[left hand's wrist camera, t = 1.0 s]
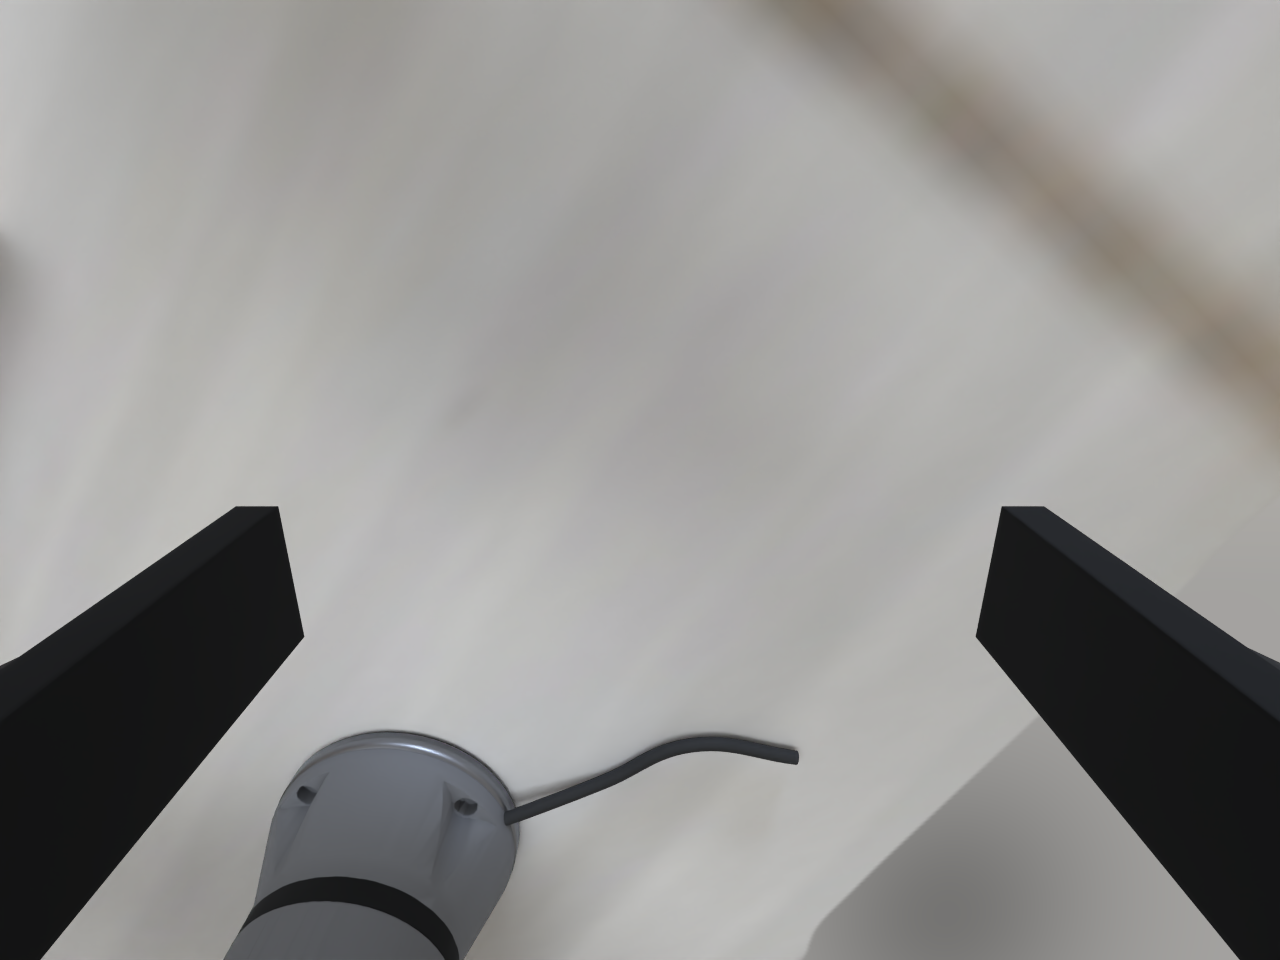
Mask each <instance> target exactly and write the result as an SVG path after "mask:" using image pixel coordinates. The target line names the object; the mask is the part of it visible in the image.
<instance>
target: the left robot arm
mask: <svg viewBox="0 0 1280 960" xmlns="http://www.w3.org/2000/svg"><path fill="white" fill-rule="evenodd" d="M303 638H304V633H303V628H302V623H301V618H300V613H299V608H298V603H297V598H296V593H295V588H294V583H293V578H292V573H291V568H290V563H289V558H288V553H287V548H286V543H285V538H284V533H283V528H282V523H281V518H280V513H279V508H278V506H236V507H234V508H233V509H232V510H230V511H229V512H227V513H226V514H224V515H223V516H221V517H220V518H219V519H217V520H216V521H214V522H213V523H211V524H210V525H209V526H207V527H206V528H204V529H203V530H201V531H200V532H198V533H197V534H196V535H194V536H193V537H191V538H190V539H188V540H187V541H185V542H184V543H183V544H181V545H180V546H178V547H177V548H175V549H174V550H173V551H171V552H170V553H168V554H167V555H165V556H164V557H162V558H161V559H160V560H158V561H157V562H155V563H154V564H152V565H151V566H149V567H148V568H147V569H145V570H144V571H142V572H141V573H139V574H138V575H137V576H135V577H134V578H132V579H131V580H129V581H128V582H126V583H125V584H124V585H122V586H121V587H119V588H118V589H116V590H115V591H113V592H112V593H111V594H109V595H108V596H106V597H105V598H103V599H102V600H101V601H99V602H98V603H96V604H95V605H93V606H92V607H90V608H89V609H88V610H86V611H85V612H83V613H82V614H80V615H79V616H77V617H76V618H75V619H73V620H72V621H70V622H69V623H67V624H66V625H65V626H63V627H62V628H60V629H59V630H57V631H56V632H54V633H53V634H52V635H50V636H49V637H47V638H46V639H44V640H43V641H41V642H40V643H39V644H37V645H36V646H34V647H33V648H31V649H30V650H29V651H27V652H26V653H24V654H23V655H21V656H20V657H18V658H16V659H14V660H12V661H10V662H7V663H5V664H3V665H1V666H0V960H41V958H42V957H43V956H44V955H45V953H46V952H47V951H48V950H49V948H50V947H51V946H52V945H53V944H54V942H55V941H56V940H57V939H58V937H59V936H60V935H61V934H62V933H63V931H64V930H65V929H66V928H67V926H68V925H69V924H70V923H71V922H72V920H73V919H74V918H75V917H76V915H77V914H78V913H79V912H80V911H81V909H82V908H83V907H84V906H85V904H86V903H87V902H88V901H89V900H90V898H91V897H92V896H93V895H94V893H95V892H96V891H97V890H98V889H99V887H100V886H101V885H102V884H103V882H104V881H105V880H106V879H107V878H108V876H109V875H110V874H111V873H112V871H113V870H114V869H115V868H116V867H117V865H118V864H119V863H120V862H121V860H122V859H123V858H124V857H125V855H126V854H127V853H128V852H129V851H130V849H131V848H132V847H133V846H134V844H135V843H136V842H137V841H138V840H139V838H140V837H141V836H142V835H143V833H144V832H145V831H146V830H147V829H148V827H149V826H150V825H151V824H152V822H153V821H154V820H155V819H156V818H157V816H158V815H159V814H160V813H161V811H162V810H163V809H164V808H165V807H166V805H167V804H168V803H169V802H170V800H171V799H172V798H173V797H174V796H175V794H176V793H177V792H178V791H179V789H180V788H181V787H182V786H183V785H184V783H185V782H186V781H187V780H188V778H189V777H190V776H191V775H192V774H193V772H194V771H195V770H196V769H197V767H198V766H199V765H200V764H201V762H202V761H203V760H204V759H205V758H206V756H207V755H208V754H209V753H210V751H211V750H212V749H213V748H214V747H215V745H216V744H217V743H218V742H219V740H220V739H221V738H222V737H223V736H224V734H225V733H226V732H227V731H228V729H229V728H230V727H231V726H232V725H233V723H234V722H235V721H236V720H237V718H238V717H239V716H240V715H241V714H242V712H243V711H244V710H245V709H246V707H247V706H248V705H249V704H250V703H251V701H252V700H253V699H254V698H255V696H256V695H257V694H258V693H259V692H260V690H261V689H262V688H263V687H264V685H265V684H266V683H267V682H268V681H269V679H270V678H271V677H272V676H273V674H274V673H275V672H276V671H277V669H278V668H279V667H280V666H281V665H282V663H283V662H284V661H285V660H286V658H287V657H288V656H289V655H290V654H291V652H292V651H293V650H294V649H295V647H296V646H297V645H298V644H299V643H300V641H301V640H302V639H303ZM976 638H977V639H978V640H979V641H980V643H981V644H982V645H983V646H984V647H985V649H986V650H987V651H988V652H989V654H990V655H991V656H992V657H993V658H994V660H995V661H996V662H997V663H998V665H999V666H1000V667H1001V668H1002V669H1003V671H1004V672H1005V673H1006V674H1007V676H1008V677H1009V678H1010V679H1011V681H1012V682H1013V683H1014V684H1015V685H1016V687H1017V688H1018V689H1019V690H1020V692H1021V693H1022V694H1023V695H1024V696H1025V698H1026V699H1027V700H1028V701H1029V703H1030V704H1031V705H1032V706H1033V707H1034V709H1035V710H1036V711H1037V712H1038V714H1039V715H1040V716H1041V717H1042V718H1043V720H1044V721H1045V722H1046V723H1047V725H1048V726H1049V727H1050V728H1051V729H1052V731H1053V732H1054V733H1055V734H1056V736H1057V737H1058V738H1059V739H1060V740H1061V742H1062V743H1063V744H1064V745H1065V747H1066V748H1067V749H1068V750H1069V751H1070V753H1071V754H1072V755H1073V756H1074V758H1075V759H1076V760H1077V761H1078V762H1079V764H1080V765H1081V766H1082V767H1083V769H1084V770H1085V771H1086V772H1087V774H1088V775H1089V776H1090V777H1091V778H1092V780H1093V781H1094V782H1095V783H1096V785H1097V786H1098V787H1099V788H1100V789H1101V791H1102V792H1103V793H1104V794H1105V796H1106V797H1107V798H1108V799H1109V800H1110V802H1111V803H1112V804H1113V805H1114V807H1115V808H1116V809H1117V810H1118V811H1119V813H1120V814H1121V815H1122V816H1123V818H1124V819H1125V820H1126V821H1127V822H1128V824H1129V825H1130V826H1131V827H1132V829H1133V830H1134V831H1135V832H1136V833H1137V835H1138V836H1139V837H1140V838H1141V840H1142V841H1143V842H1144V843H1145V844H1146V846H1147V847H1148V848H1149V849H1150V851H1151V852H1152V853H1153V854H1154V855H1155V857H1156V858H1157V859H1158V860H1159V862H1160V863H1161V864H1162V865H1163V866H1164V868H1165V869H1166V870H1167V871H1168V873H1169V874H1170V875H1171V876H1172V878H1173V879H1174V880H1175V881H1176V882H1177V884H1178V885H1179V886H1180V887H1181V889H1182V890H1183V891H1184V892H1185V893H1186V895H1187V896H1188V897H1189V898H1190V900H1191V901H1192V902H1193V903H1194V904H1195V906H1196V907H1197V908H1198V909H1199V911H1200V912H1201V913H1202V914H1203V915H1204V917H1205V918H1206V919H1207V920H1208V922H1209V923H1210V924H1211V925H1212V926H1213V928H1214V929H1215V930H1216V931H1217V933H1218V934H1219V935H1220V936H1221V937H1222V939H1223V940H1224V941H1225V942H1226V943H1227V945H1228V946H1229V947H1230V948H1231V950H1232V951H1233V952H1234V953H1235V955H1236V956H1237V957H1238V958H1239V959H1240V960H1280V663H1279V662H1277V661H1275V660H1273V659H1270V658H1268V657H1266V656H1264V655H1262V654H1260V653H1258V652H1256V651H1253V650H1251V649H1249V648H1247V647H1246V646H1244V645H1243V644H1241V643H1240V642H1238V641H1237V640H1236V639H1234V638H1233V637H1231V636H1230V635H1228V634H1227V633H1226V632H1224V631H1223V630H1221V629H1220V628H1218V627H1217V626H1215V625H1214V624H1213V623H1211V622H1210V621H1208V620H1207V619H1205V618H1204V617H1202V616H1201V615H1200V614H1198V613H1197V612H1195V611H1194V610H1192V609H1191V608H1190V607H1188V606H1187V605H1185V604H1184V603H1182V602H1181V601H1179V600H1178V599H1177V598H1175V597H1174V596H1172V595H1171V594H1169V593H1168V592H1167V591H1165V590H1164V589H1162V588H1161V587H1159V586H1158V585H1156V584H1155V583H1154V582H1152V581H1151V580H1149V579H1148V578H1146V577H1145V576H1143V575H1142V574H1141V573H1139V572H1138V571H1136V570H1135V569H1133V568H1132V567H1131V566H1129V565H1128V564H1126V563H1125V562H1123V561H1122V560H1120V559H1119V558H1118V557H1116V556H1115V555H1113V554H1112V553H1110V552H1109V551H1107V550H1106V549H1105V548H1103V547H1102V546H1100V545H1099V544H1097V543H1096V542H1095V541H1093V540H1092V539H1090V538H1089V537H1087V536H1086V535H1084V534H1083V533H1082V532H1080V531H1079V530H1077V529H1076V528H1074V527H1073V526H1071V525H1070V524H1069V523H1067V522H1066V521H1064V520H1063V519H1061V518H1060V517H1058V516H1057V515H1056V514H1054V513H1053V512H1051V511H1050V510H1048V509H1047V508H1046V507H1044V506H1002V508H1001V513H1000V518H999V523H998V528H997V533H996V538H995V543H994V548H993V553H992V558H991V563H990V568H989V573H988V578H987V583H986V588H985V593H984V598H983V603H982V608H981V613H980V618H979V623H978V628H977V633H976Z"/></svg>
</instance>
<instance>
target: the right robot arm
mask: <svg viewBox="0 0 1280 960" xmlns="http://www.w3.org/2000/svg"><path fill="white" fill-rule="evenodd" d="M700 751H722V752H731V753H737V754H743V755H748V756H752V757H757V758H761V759H766V760H771V761H776V762H781V763H787V764H794V765H797V764H798V762H799V753H798V751H795V750H788V749H782V748H777V747H772V746H767V745H763V744H759V743H754V742H749V741H745V740H739V739H733V738H724V737H698V738H689V739H683V740H678V741H674V742H671V743H667V744H664V745H662V746H659V747H657V748H654V749H652V750H650V751H648V752H646V753H644V754H642V755H640V756H638V757H637V758H635V759H633V760H631V761H629V762H628V763H626V764H624V765H622V766H620V767H618V768H616V769H614V770H612V771H610V772H608V773H606V774H603V775H601V776H598V777H596V778H593V779H591V780H588V781H586V782H583V783H581V784H578V785H575V786H573V787H570V788H568V789H565V790H562V791H560V792H557V793H555V794H552V795H549V796H547V797H544V798H541V799H539V800H536V801H533V802H530V803H528V804H525V805H522V806H520V807H517V808H515V807H514V804H513V802H512V800H511V798H510V796H509V794H508V792H507V791H506V789H505V788H504V786H503V785H502V784H501V782H500V781H499V780H498V779H497V778H496V777H495V775H494V774H493V773H491V772H490V771H489V770H488V769H487V768H486V767H485V766H484V765H482V764H481V763H480V762H479V761H477V760H476V759H474V758H473V757H471V756H470V755H468V754H467V753H465V752H463V751H461V750H459V749H457V748H455V747H453V746H451V745H449V744H446V743H443V742H441V741H438V740H435V739H431V738H428V737H424V736H419V735H414V734H406V733H393V732H383V733H370V734H363V735H358V736H353V737H350V738H346V739H343V740H340V741H338V742H335V743H333V744H331V745H329V746H327V747H325V748H323V749H322V750H320V751H319V752H317V753H316V754H314V755H313V756H312V757H311V758H309V759H308V760H307V761H306V762H305V763H304V764H303V765H302V766H301V767H300V769H299V770H298V771H297V773H296V774H295V776H294V777H293V779H292V780H291V782H290V784H289V785H288V787H287V788H286V790H285V791H284V793H283V795H282V797H281V799H280V801H279V804H278V806H277V809H276V811H275V813H274V816H273V819H272V823H271V827H270V832H269V837H268V841H267V846H266V851H265V856H264V860H263V865H262V870H261V875H260V879H259V884H258V889H257V894H256V898H255V903H254V906H253V908H252V910H251V912H250V914H249V916H248V918H247V919H246V921H245V923H244V925H243V926H242V928H241V930H240V932H239V933H238V935H237V937H236V939H235V940H234V942H233V943H232V945H231V947H230V949H229V950H228V952H227V954H226V956H225V958H224V959H223V960H463V959H464V958H465V956H466V954H467V953H468V951H469V949H470V948H471V946H472V944H473V943H474V941H475V939H476V938H477V936H478V934H479V932H480V931H481V929H482V927H483V926H484V924H485V922H486V921H487V919H488V917H489V916H490V914H491V912H492V911H493V909H494V907H495V905H496V904H497V902H498V900H499V899H500V897H501V895H502V894H503V892H504V890H505V888H506V885H507V883H508V880H509V878H510V875H511V873H512V870H513V867H514V863H515V858H516V853H517V848H518V842H519V822H520V821H522V820H525V819H528V818H530V817H533V816H536V815H539V814H541V813H544V812H547V811H549V810H552V809H555V808H557V807H560V806H562V805H565V804H568V803H570V802H573V801H576V800H578V799H581V798H583V797H586V796H588V795H591V794H593V793H596V792H598V791H601V790H603V789H606V788H608V787H611V786H613V785H615V784H617V783H619V782H622V781H624V780H625V779H627V778H629V777H631V776H633V775H635V774H637V773H639V772H640V771H642V770H644V769H646V768H648V767H650V766H652V765H653V764H655V763H658V762H660V761H662V760H665V759H667V758H670V757H673V756H677V755H681V754H685V753H691V752H700Z"/></svg>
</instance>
